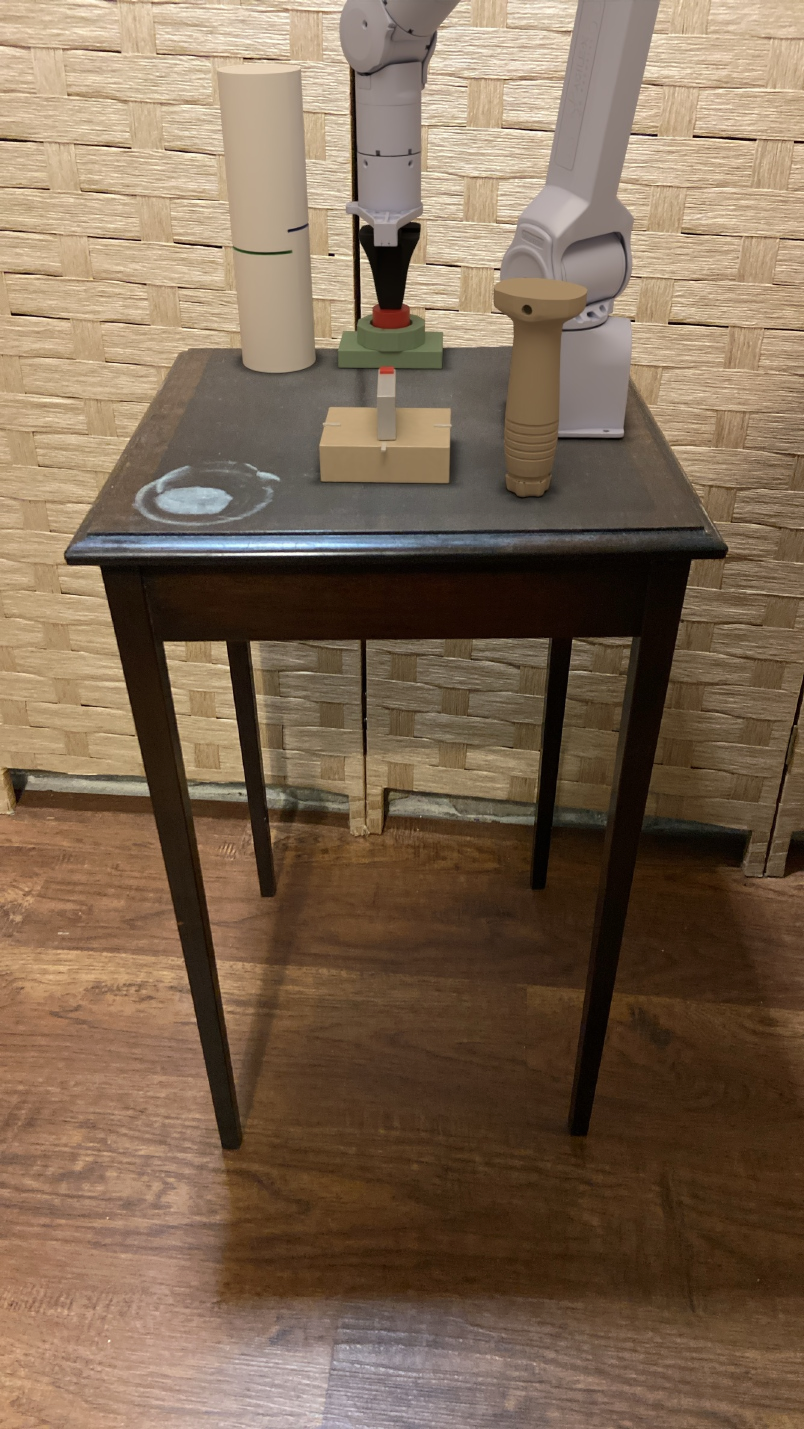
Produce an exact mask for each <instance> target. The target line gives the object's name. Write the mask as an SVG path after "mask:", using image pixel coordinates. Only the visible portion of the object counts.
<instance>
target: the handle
mask: <svg viewBox="0 0 804 1429" xmlns="http://www.w3.org/2000/svg"><path fill="white" fill-rule="evenodd" d="M492 296H493V298H492V302H493V306H494V309H496V310H498V311H499V312H501V313H502V314H503V315H505V316H506V317H507V318H509V319H510V321H512V328H513V330H512V331H513V332H512V333H513V338H512V348H511V349H512V350H511V357H510V358H511V359H510V369H509V377H508V387H507V393H506V394H507V395H506V403H505V404H506V405H505V413H504V414H505V416H504V430H503V432H504V434H503V439H504V444H503V446H504V460H505V468H506V471H507V473H505V485H506V489H507V490H508V491H509V492H513V493H514V494H516V496H517V497H519V498H525V497H541V496H543V495H544V494H545V491H548V489H549V487H550V484H551V479H552V473H551V471H552V468H553V464H554V462H555V456H556V451H557V444H558V439H559V437H558V426H559V402H560V352H561V334H562V328H563V324H564V323H565V322H567V321H568V320H571V319H573V318H575V317H576V316H578V315H579V314H581V313H582V312H583V311H584V310H585V306H586V300H587V289H586V287H583V286H580V285H577V284H573V283H570V282H565V281H559V280H551V279H542V278H510V279H505V280H502V281H500V280H499V281H498V282H496V283H495V284H494V286H493V295H492Z"/></svg>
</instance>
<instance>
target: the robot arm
mask: <svg viewBox="0 0 804 1429" xmlns="http://www.w3.org/2000/svg"><path fill="white" fill-rule="evenodd" d="M461 1H462V0H346V1H345V3H344V5H343V7H342V10H341V12H340V18H339V24H338V25H339V27H338V31H339V32H338V33H339V34H338V35H339V42H340V46H341V51H342V54H343V56H344V58H345V60H346V62H347V63H348V65H349V67H351V68H352V69H353V70H354V76H355V77H354V83H355V84H354V86H355V87H354V88H355V118H356V119H355V120H356V158H357V163H356V165H357V195H358V197H357V198H358V200H357V201H347V202H346V203H345V214H347V215H356V216H358V217H359V218H361V219H362V221H364V222H365V223H367V224H364V225H361V227H360V228H359V230H358V234H357V235H358V241H359V243H360V245H361V247H362V250H363V251H364V253H365V255H366V258H367V260H368V263H369V267H370V269H371V274H372V279H373V284H374V289H375V296H376V299H377V304H379V307H380V309H401V307H402V304H404V299H405V294H406V287H407V281H408V273H409V267H410V263H411V260H412V258H413V254H414V252H415V249H416V247H417V246H418V244H419V240H420V238H421V232H422V224H421V223H420V222H417V221H415V220H416V219H417V218H420V217H421V216H422V215H423V214H424V203H423V202H422V91H424V90H425V89H426V84H428V68H429V64H430V61H431V59H432V58H433V56H434V53H435V50H436V47H437V42H438V32H439V31H438V29H439V27H440V26H441V25H442V24H443V23H444V22H445V20H446V19H447V18H448V17H449V16H450V14H451V13H452V12H453V11H454V10H455V8H456V7H457V6H458V5H459V4H460V3H461ZM660 3H661V0H578V1H577V7H576V11H575V17H574V22H573V28H572V34H571V39H570V44H569V50H568V55H567V62H566V67H565V73H564V78H563V84H562V90H561V95H560V99H559V106H558V112H557V117H556V118H557V119H556V122H555V127H554V133H553V140H552V145H551V150H550V156H549V160H548V166H547V170H546V171H547V172H546V177H545V183H544V186H543V187H542V189H540V191H539V192H538V193H537V195H536V196H535V197H534V198H533V199H532V200H531V202H529V204H528V205H527V206H526V207H525V208H524V209H523V211H522V212H521V213H520V214H519V216H518V218H517V222H516V227H515V228H516V229H515V231H514V232H515V233H514V236H513V239H512V241H511V243H510V244H509V246H508V248H506V250H505V252H504V255H503V257H502V260H501V263H500V269H499V282H500V281H502V280H505V279H510V278H542V279H551V280H559V281H565V282H570V283H573V284H577V285H580V286H583V287H586V289H587V300H586V306H585V310H584V311H583V312H582V313H581V314H579V315H578V316H576V317H575V318H573V319H571V320H568V321H567V322H565V323H564V324H563V328H562V334H561V352H560V402H559V426H558V438H596V439H597V438H600V439H601V438H602V439H603V438H604V439H605V438H606V439H609V438H610V439H611V438H613V439H614V438H615V439H621V438H623V437H624V436H625V430H624V426H625V418H626V408H627V402H628V395H629V394H628V393H629V392H628V391H629V384H630V375H631V374H630V373H631V366H632V354H633V328H632V320H631V319H630V318H629V317H625V316H614V315H611V314H613V313H614V306H615V305H614V304H615V300H616V299H617V298H619V297H620V296H621V295H622V294H623V293H624V292H625V290H626V289H627V287H628V285H629V283H630V281H631V278H632V277H631V276H632V273H633V253H632V246H631V244H632V243H631V241H632V231H633V226H634V223H635V217H634V216H633V214H632V212H630V210H629V209H628V208H627V207H626V205H625V204H624V203H623V202H622V201H621V199H619V197H618V191H619V186H620V182H621V179H622V173H623V170H624V165H625V160H626V155H627V151H628V147H629V142H630V138H631V134H632V129H633V124H634V120H635V116H636V111H637V107H638V101H639V97H640V93H641V89H642V84H643V79H644V75H645V70H646V67H647V62H648V57H649V53H650V48H651V44H652V39H653V36H654V35H653V34H654V30H655V26H656V23H657V22H656V21H657V16H658V13H659V9H660V5H661V4H660Z"/></svg>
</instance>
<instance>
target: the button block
mask: <svg viewBox="0 0 804 1429" xmlns="http://www.w3.org/2000/svg"><path fill="white" fill-rule="evenodd" d="M443 353H444V332H443V331H426V319H424V318H423V317H421V316H419V315H417V314H413V313H410V326H408V327H405V328H399V329H382V328H376V327H373V315H372V313H371V314H368V315H367V314H366V315H365V316H363V317H361V318H359V319H358V320H357V324H356V330H343V331H342V334H341V338H340V342H339V345H338V348H337V366H338V369H380V367H394V369H423V370H424V369H429V370H431V369H432V370H433V369H434V370H435V369H436V370H437V369H439V370H441V369H443Z"/></svg>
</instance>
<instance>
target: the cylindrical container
mask: <svg viewBox="0 0 804 1429" xmlns="http://www.w3.org/2000/svg"><path fill="white" fill-rule="evenodd" d="M216 76H217V87H218V88H217V90H218V98H219V99H218V100H219V111H220V121H221V133H222V134H221V135H222V144H223V156H224V166H225V168H224V169H225V176H226V177H225V179H226V188H227V189H226V190H227V202H228V213H229V222H230V224H229V225H230V233H231V244H232V256H233V258H232V259H233V267H234V281H235V290H236V301H237V302H236V303H237V313H238V325H239V335H240V336H239V337H240V344H241V346H240V347H241V355H242V356H241V357H242V365H243V366H244V367H245V368H247V369H250V370H252V371H255V372H260V373H268V374H269V373H270V374H280V373H283V374H284V373H292V372H297V371H301V370H305V369H307V368H310V367H311V366H313V365H314V364H315V363H316V361H317V360H316V358H317V357H316V340H315V339H316V338H315V320H314V318H315V317H314V296H313V280H312V279H313V278H312V276H313V275H312V260H311V259H312V258H311V240H310V239H311V238H310V224H309V220H310V219H309V203H308V200H309V199H308V198H309V197H308V181H307V161H306V158H307V157H306V140H305V122H304V104H303V103H304V101H303V82H302V68H301V66H298V65H294V64H285V63H242V64H241V63H240V64H233V65H226V66H221V67H218V68H216Z"/></svg>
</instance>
